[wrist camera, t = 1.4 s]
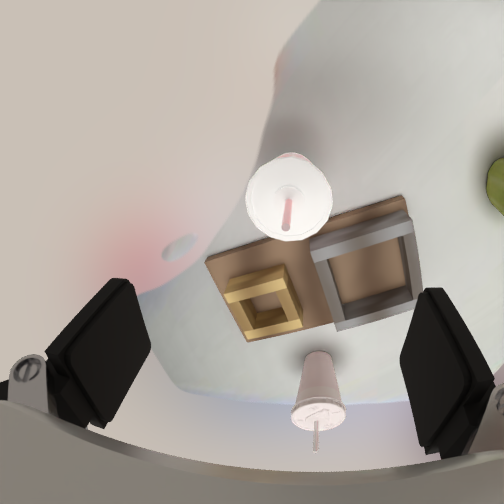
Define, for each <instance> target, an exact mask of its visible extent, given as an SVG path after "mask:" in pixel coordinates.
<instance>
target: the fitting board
mask: <svg viewBox="0 0 504 504" xmlns="http://www.w3.org/2000/svg"><path fill="white" fill-rule="evenodd" d="M204 263H205V265H206V266H207V268H208V270H209V272H210V274H211V276H212V278H213V280H214V282H215V284H216V286H217V288H218V289H219V291H220V293H221V295H222V297H223V299H224V301H225V303H226V305H227V306H228V308H229V310H230V312H231V314H232V316H233V317H234V319H235V321H236V323H237V325H238V327H239V328H240V330H241V332H242V334H243V336H244V338H245V339H246V341H247V342H252V341H257V340H261V339H266V338H271V337H275V336H280V335H284V334H288V333H293V332H297V331H301V330H305V329H309V328H313V327H317V326H321V325H325V324H329V323H333V322H334V324H335V327H336V330H337V332H338V331H342V330H346V329H349V328H353V327H357V326H360V325H364V324H367V323H371V322H374V321H377V320H381V319H384V318H387V317H391V316H394V315H397V314H400V313H403V312H406V311H409V310H412V309H415V306H416V302H417V299H418V295H419V294H420V293H421V292H423V287H422V278H421V270H420V263H419V256H418V249H417V243H416V237H415V231H414V226H413V220H412V219H411V218H410V217H409V215H408V210H407V206H406V201H405V198H404V197H403V196H398V197H395V198H392V199H388V200H385V201H382V202H379V203H376V204H372V205H369V206H366V207H363V208H360V209H356V210H353V211H350V212H347V213H344V214H341V215H337V216H334V217H331V218H328V221H327V222H326V223H325V224H324V225H323V226H322V227H321V229H320V230H319V231H318V232H317V233H315V234H313V235H311V236H309V237H307V238H305V239H303V240H296V241H282V240H279V239H275V238H271V237H269V238H266V239H262V240H259V241H256V242H253V243H250V244H247V245H244V246H241V247H238V248H235V249H232V250H229V251H225V252H222V253H219V254H216V255H213V256H210V257H207V259H206V261H205V262H204Z"/></svg>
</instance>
